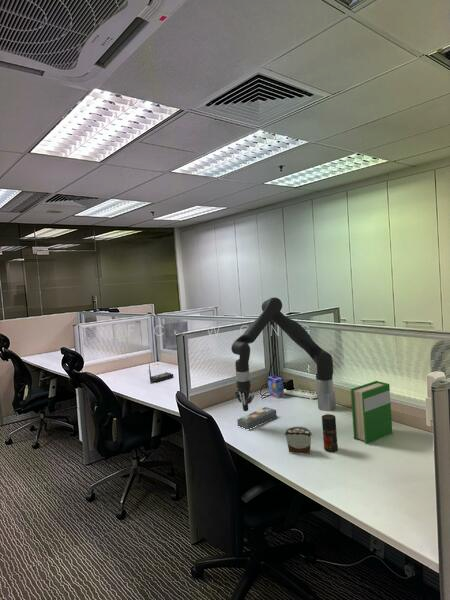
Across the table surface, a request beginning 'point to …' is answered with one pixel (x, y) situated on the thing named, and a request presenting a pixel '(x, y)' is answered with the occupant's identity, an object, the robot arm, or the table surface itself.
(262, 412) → the key sand
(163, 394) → the table surface
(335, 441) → the deodorant
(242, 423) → the keyguard
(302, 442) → the food container
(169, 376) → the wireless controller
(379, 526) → the table surface
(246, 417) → the key sage
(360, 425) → the hardback book
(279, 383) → the ink cartridge box
